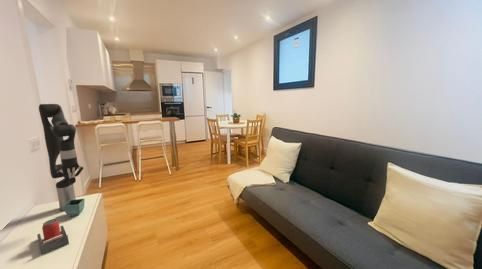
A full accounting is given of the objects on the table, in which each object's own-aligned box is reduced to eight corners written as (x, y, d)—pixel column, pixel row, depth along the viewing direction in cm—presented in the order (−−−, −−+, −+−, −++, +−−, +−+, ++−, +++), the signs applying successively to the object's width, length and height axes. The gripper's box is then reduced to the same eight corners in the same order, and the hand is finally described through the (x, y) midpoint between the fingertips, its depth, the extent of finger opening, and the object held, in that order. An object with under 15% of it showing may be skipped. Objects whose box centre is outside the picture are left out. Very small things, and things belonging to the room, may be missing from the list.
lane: (38, 239, 111) (36, 231, 110) (63, 230, 119) (62, 222, 118) (40, 255, 99) (39, 246, 99) (69, 243, 108) (67, 235, 107)
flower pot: (86, 209, 141) (84, 198, 140) (80, 216, 133) (79, 204, 132) (71, 211, 139) (69, 200, 137) (65, 218, 131) (62, 206, 129)
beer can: (42, 247, 105) (38, 227, 103) (49, 239, 111) (45, 220, 109) (58, 244, 107) (54, 224, 105) (63, 236, 114) (60, 217, 111)
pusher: (44, 248, 104) (42, 241, 103) (63, 240, 110) (62, 234, 109) (44, 249, 104) (42, 242, 103) (63, 241, 109) (62, 234, 109)
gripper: (81, 153, 129) (84, 178, 132) (53, 157, 120) (58, 184, 123) (83, 155, 124) (87, 181, 127) (54, 160, 115) (59, 188, 118)
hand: (72, 183), depth 125 cm, fingers closed
